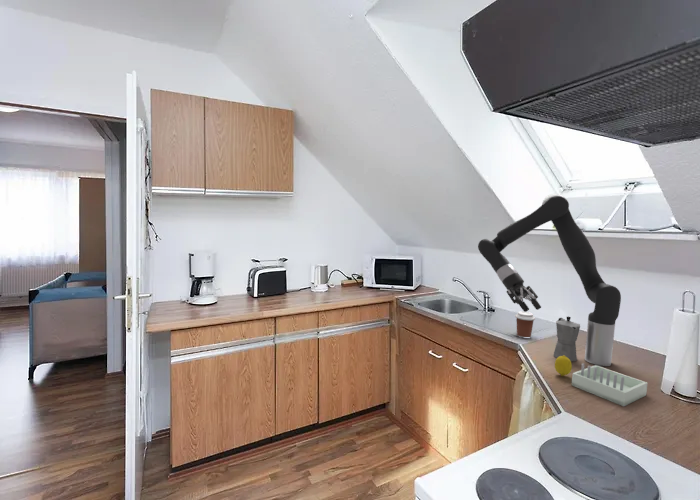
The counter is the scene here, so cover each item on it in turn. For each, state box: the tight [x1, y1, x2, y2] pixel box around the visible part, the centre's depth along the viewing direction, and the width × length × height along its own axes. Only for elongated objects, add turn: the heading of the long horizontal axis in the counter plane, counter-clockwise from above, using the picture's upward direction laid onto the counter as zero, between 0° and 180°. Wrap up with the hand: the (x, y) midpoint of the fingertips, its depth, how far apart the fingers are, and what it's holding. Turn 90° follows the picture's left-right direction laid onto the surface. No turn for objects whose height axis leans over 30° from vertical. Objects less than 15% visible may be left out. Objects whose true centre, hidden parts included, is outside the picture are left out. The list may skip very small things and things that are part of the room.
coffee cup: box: [514, 310, 536, 338], centre depth 180 cm, size 9×9×12 cm
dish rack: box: [571, 363, 648, 407], centre depth 123 cm, size 16×16×8 cm
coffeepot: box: [553, 316, 581, 362], centre depth 153 cm, size 15×9×18 cm, turn 171°
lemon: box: [554, 355, 573, 377], centre depth 134 cm, size 6×6×8 cm
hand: (533, 309), depth 143 cm, fingers open, 8 cm apart
